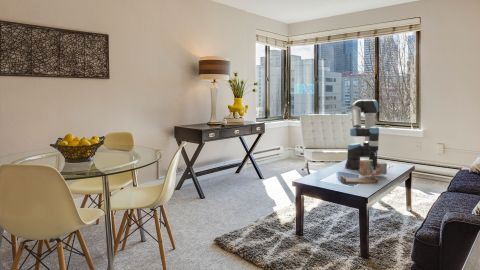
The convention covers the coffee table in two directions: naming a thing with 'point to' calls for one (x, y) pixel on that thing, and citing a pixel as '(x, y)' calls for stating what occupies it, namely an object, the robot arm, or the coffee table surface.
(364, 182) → the base board
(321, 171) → the coffee table surface
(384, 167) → the stack of blocks
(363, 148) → the robot arm
